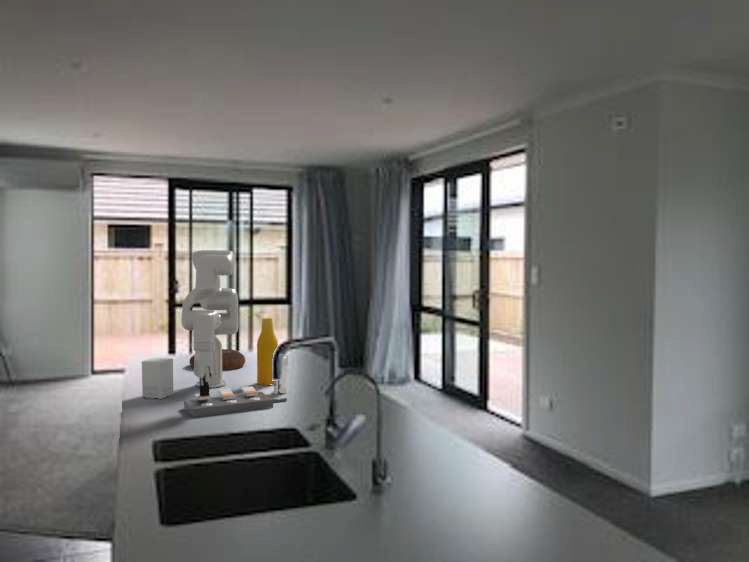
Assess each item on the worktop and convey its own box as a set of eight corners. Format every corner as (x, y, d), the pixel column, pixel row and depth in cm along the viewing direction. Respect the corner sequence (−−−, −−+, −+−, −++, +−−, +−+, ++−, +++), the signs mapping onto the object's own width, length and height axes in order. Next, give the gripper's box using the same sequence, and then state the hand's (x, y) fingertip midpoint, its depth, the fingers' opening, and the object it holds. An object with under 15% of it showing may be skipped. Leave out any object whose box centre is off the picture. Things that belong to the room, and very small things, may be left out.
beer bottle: (280, 384, 275) (280, 319, 274) (259, 386, 272) (259, 319, 270) (275, 380, 284) (275, 316, 282) (255, 382, 281) (254, 317, 279)
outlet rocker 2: (241, 389, 244) (241, 386, 244) (252, 388, 246) (252, 385, 246) (246, 396, 238) (246, 393, 238) (257, 395, 241) (258, 392, 240)
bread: (185, 363, 324) (184, 347, 324) (237, 359, 336) (237, 343, 336) (195, 374, 299) (195, 355, 298) (251, 369, 311) (251, 351, 311)
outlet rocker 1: (218, 391, 240) (218, 388, 240) (229, 390, 242) (229, 387, 242) (223, 399, 234) (223, 396, 234) (234, 398, 236) (235, 395, 236)
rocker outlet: (194, 396, 236) (194, 393, 236) (206, 395, 238) (206, 392, 238) (199, 400, 230) (198, 396, 230) (211, 398, 232) (210, 395, 232)
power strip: (184, 408, 235) (183, 398, 234) (280, 397, 253) (280, 387, 253) (192, 417, 222) (192, 406, 222) (293, 404, 241) (293, 395, 241)
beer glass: (285, 394, 257) (285, 358, 256) (269, 393, 258) (269, 357, 257) (291, 391, 264) (291, 355, 263) (275, 390, 265) (275, 355, 264)
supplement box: (174, 394, 257) (173, 358, 256) (161, 399, 248) (160, 362, 247) (155, 392, 259) (154, 357, 258) (141, 397, 250) (141, 360, 250)
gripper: (189, 344, 235) (189, 392, 236) (198, 349, 222) (199, 400, 223) (209, 342, 239) (209, 390, 240) (219, 348, 226) (220, 398, 226)
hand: (204, 395), depth 231 cm, fingers closed
